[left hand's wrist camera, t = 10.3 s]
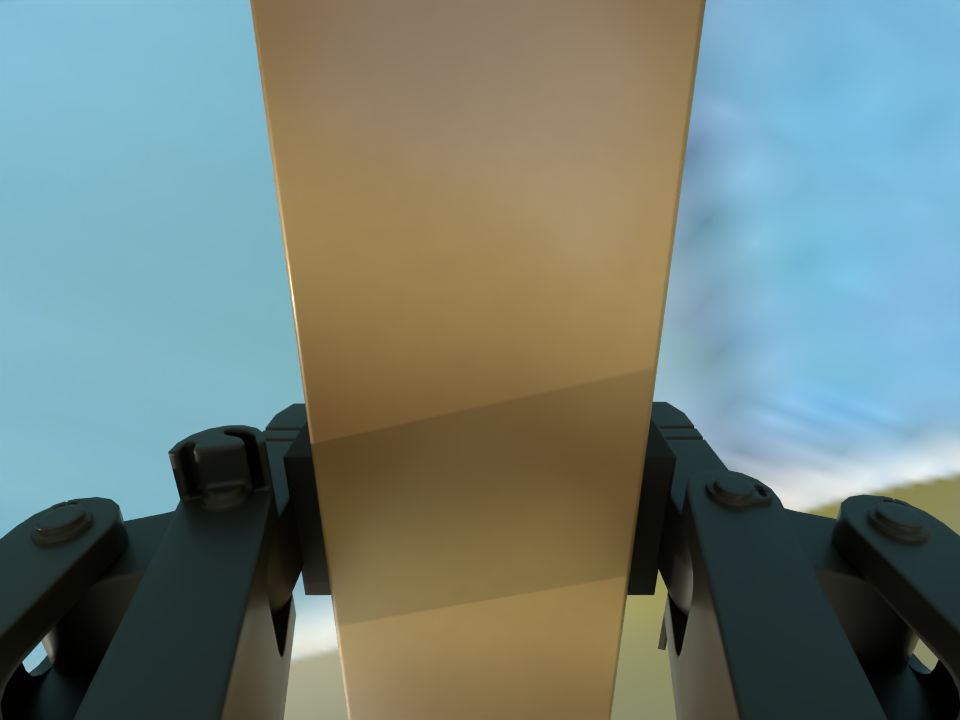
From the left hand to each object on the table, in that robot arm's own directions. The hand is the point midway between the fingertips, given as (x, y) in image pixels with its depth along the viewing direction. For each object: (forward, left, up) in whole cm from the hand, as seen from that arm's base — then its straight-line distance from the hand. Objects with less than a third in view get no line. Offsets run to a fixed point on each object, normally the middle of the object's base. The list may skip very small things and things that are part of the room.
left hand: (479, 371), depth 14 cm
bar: (+27, +6, -1) cm, 28 cm away
